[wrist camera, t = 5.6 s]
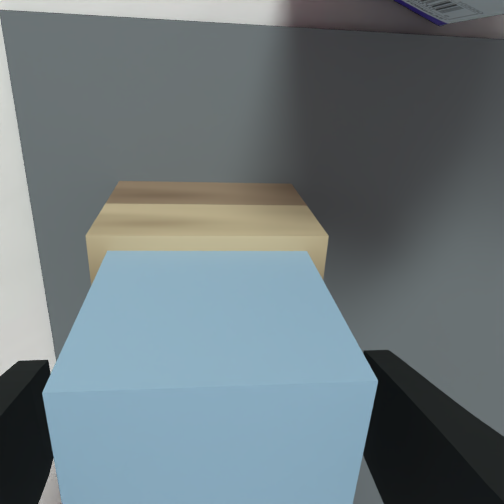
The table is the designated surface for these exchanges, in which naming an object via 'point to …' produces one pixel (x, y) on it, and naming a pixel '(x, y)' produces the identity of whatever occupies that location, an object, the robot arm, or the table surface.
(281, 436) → the cube
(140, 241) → the slab upper
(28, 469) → the robot arm
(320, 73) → the mat
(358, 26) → the table surface
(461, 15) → the supplement box
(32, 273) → the table surface
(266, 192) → the slab lower
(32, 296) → the table surface
